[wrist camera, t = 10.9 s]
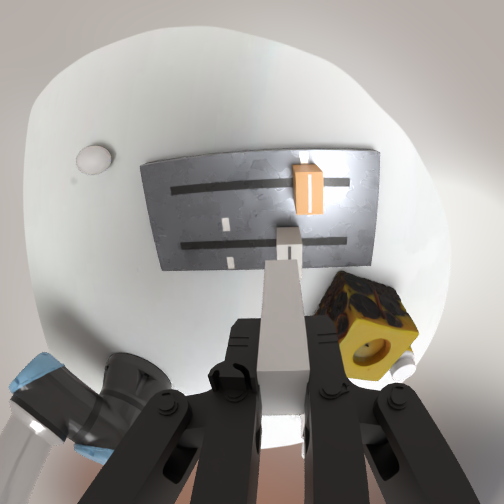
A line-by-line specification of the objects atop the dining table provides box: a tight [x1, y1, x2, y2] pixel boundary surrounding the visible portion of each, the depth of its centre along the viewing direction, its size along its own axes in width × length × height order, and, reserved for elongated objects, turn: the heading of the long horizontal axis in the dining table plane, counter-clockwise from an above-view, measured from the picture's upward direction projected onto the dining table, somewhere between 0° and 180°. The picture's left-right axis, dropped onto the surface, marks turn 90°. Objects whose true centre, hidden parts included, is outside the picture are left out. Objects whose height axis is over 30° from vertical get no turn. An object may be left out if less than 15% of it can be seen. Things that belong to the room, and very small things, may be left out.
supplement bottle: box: [389, 346, 416, 381], centre depth 36 cm, size 5×5×8 cm
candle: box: [314, 271, 419, 381], centre depth 33 cm, size 10×10×10 cm
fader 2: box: [292, 164, 323, 215], centre depth 26 cm, size 2×4×5 cm, turn 5°
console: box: [140, 148, 380, 271], centre depth 31 cm, size 27×14×2 cm, turn 95°
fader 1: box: [277, 227, 302, 279], centre depth 29 cm, size 2×4×5 cm, turn 5°
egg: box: [76, 146, 111, 175], centre depth 28 cm, size 4×6×4 cm, turn 82°
